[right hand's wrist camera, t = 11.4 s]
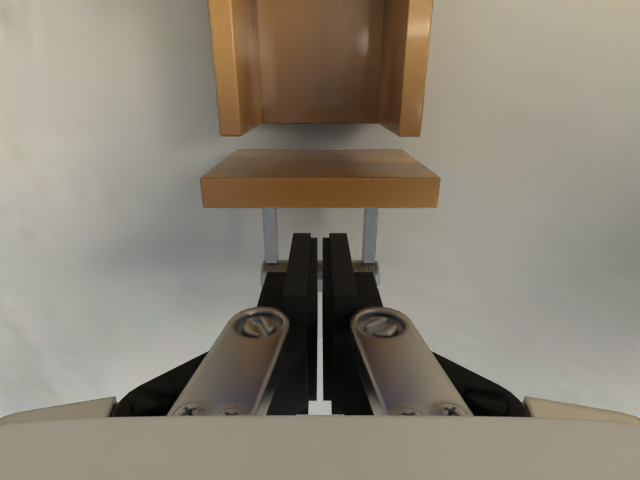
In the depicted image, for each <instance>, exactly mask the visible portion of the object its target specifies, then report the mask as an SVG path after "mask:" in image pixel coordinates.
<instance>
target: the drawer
mask: <svg viewBox="0 0 640 480" xmlns="http://www.w3.org/2000/svg"><path fill="white" fill-rule="evenodd" d="M432 7H433V0H208V10H209V20H210V31H211V42H212V52H213V63H214V74H215V84H216V95H217V106H218V116H219V127H220V135H221V136H242V135H243V134H245V133H247V132H248V131H250V130H252V129H253V128H255V127H257V126H258V125H260V124H262V123H361V124H380V125H381V126H383V127H385V128H386V129H388V130H389V131H391V132H393V133H394V134H396V135H398V136H400V137H419V136H420V134H421V123H422V113H423V102H424V92H425V81H426V71H427V60H428V50H429V39H430V28H431V18H432ZM200 184H201V192H202V201H203V207H204V208H262V210H263V227H264V245H265V260H264V261H263V263H262V267H261V287H262V288H263V284H264V281H265V277H266V274H267V272H286V271H287V266H288V261H289V260H278V259H279V256H278V233H277V210H276V208H364V218H363V240H362V260H351V261H352V266H353V271H354V272H373V274H374V277H375V281H376V284H377V288H379V266H378V262H377V261H376V260H375V249H376V232H377V215H378V208H437V203H438V195H439V187H440V177H438V176H437V175H436V174H434V173H433V172H432V171H430V170H429V169H428V168H426V167H425V166H424V165H422V164H421V163H420V162H418V161H417V160H415V159H414V158H413V157H411V156H410V155H409V154H407V153H406V152H405V151H403V150H237V151H236V152H234V153H233V154H232V155H230V156H229V157H228V158H226V159H225V160H223V161H222V162H221V163H219V164H218V165H217V166H215V167H214V168H213V169H211V170H210V171H209V172H207V173H206V174H205V175H203V176H202V177H200ZM317 292H323V260H317Z"/></svg>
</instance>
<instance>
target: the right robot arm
mask: <svg viewBox="0 0 640 480" xmlns="http://www.w3.org/2000/svg"><path fill="white" fill-rule="evenodd" d="M309 401H317V238H311V233H294V234H293V239H292V244H291V250H290V255H289V261H288V266H287V271H286V272H267V274H266V277H265V281H264V284H263V288H262V291H261V294H260V298H259V301H258V305H257V307H254V308H249V309H246V310H243V311H240V312H239V313H237V314H235V315H234V316H233V317H232V318H231V319H230V320H229V321H228V323H227V324H226V326H225V328H224V329H223V331H222V332H221V334H220V335H219V337H218V338H217V340H216V341H215V343H214V344H213V346H212V347H211V349H210V350H209V351H208V352H206V353H204V354H202V355H200V356H198V357H196V358H194V359H192V360H190V361H188V362H186V363H184V364H182V365H180V366H178V367H176V368H174V369H172V370H170V371H168V372H166V373H164V374H162V375H160V376H158V377H156V378H154V379H152V380H150V381H148V382H146V383H144V384H142V385H140V386H139V387H137V388H135V389H134V390H132V391H131V392H129V393H128V394H127V395H126V396H125V397H124V398H123V399H122V400H121V401H120V402H117V400H116V396H114V397H108V398H102V399H96V400H90V401H84V402H78V403H72V404H66V405H60V406H54V407H48V408H42V409H36V410H29V411H23V412H18V413H15V414H11V415H7V416H4V417H2V418H0V480H640V418H638V417H636V416H633V415H629V414H625V413H622V412H617V411H611V410H604V409H598V408H592V407H586V406H580V405H574V404H568V403H562V402H556V401H550V400H544V399H538V398H532V397H526V396H524V400H523V402H520V401H519V400H518V399H517V398H516V397H515V396H514V395H513V394H512V393H511V392H509V391H508V390H506V389H505V388H503V387H501V386H500V385H498V384H496V383H494V382H492V381H490V380H488V379H486V378H484V377H482V376H480V375H478V374H476V373H474V372H472V371H470V370H468V369H466V368H464V367H462V366H460V365H458V364H456V363H454V362H452V361H450V360H448V359H446V358H444V357H442V356H440V355H438V354H436V353H434V352H432V351H431V350H430V349H429V347H428V346H427V344H426V343H425V341H424V340H423V338H422V337H421V335H420V334H419V332H418V331H417V329H416V328H415V326H414V324H413V323H412V321H411V320H410V319H409V318H408V317H407V316H406V315H405V314H403V313H401V312H400V311H397V310H394V309H391V308H386V307H383V305H382V301H381V298H380V294H379V291H378V288H377V284H376V281H375V277H374V274H373V272H354V271H353V266H352V261H351V255H350V250H349V244H348V239H347V234H346V233H329V238H323V401H331V403H332V414H344V415H296V414H308V403H309Z"/></svg>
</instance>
